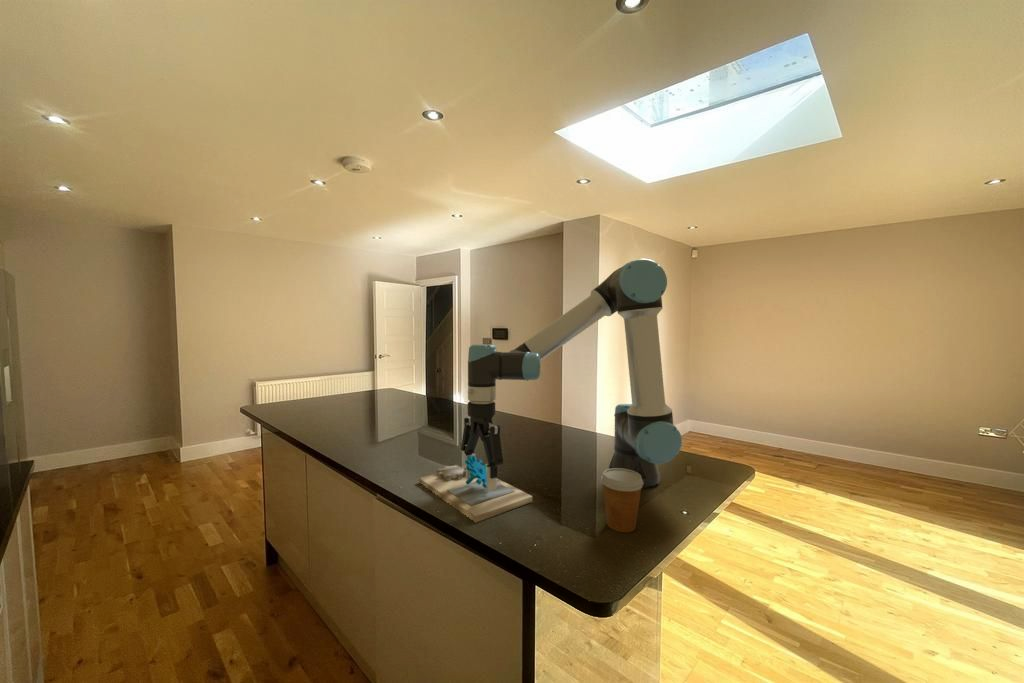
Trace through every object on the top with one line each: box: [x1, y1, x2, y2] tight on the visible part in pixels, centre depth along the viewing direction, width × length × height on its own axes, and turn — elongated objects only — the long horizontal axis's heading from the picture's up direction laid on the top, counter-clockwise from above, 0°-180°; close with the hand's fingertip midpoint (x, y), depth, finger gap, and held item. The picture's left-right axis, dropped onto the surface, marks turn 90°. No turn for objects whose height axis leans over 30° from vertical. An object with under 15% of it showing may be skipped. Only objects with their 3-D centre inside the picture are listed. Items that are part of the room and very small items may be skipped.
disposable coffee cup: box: [600, 468, 644, 533], centre depth 88 cm, size 10×10×12 cm
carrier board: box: [418, 464, 533, 523], centre depth 106 cm, size 31×18×3 cm, turn 39°
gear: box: [464, 456, 489, 488], centre depth 103 cm, size 11×6×10 cm
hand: (480, 483), depth 103 cm, fingers closed on gear, 9 cm apart
